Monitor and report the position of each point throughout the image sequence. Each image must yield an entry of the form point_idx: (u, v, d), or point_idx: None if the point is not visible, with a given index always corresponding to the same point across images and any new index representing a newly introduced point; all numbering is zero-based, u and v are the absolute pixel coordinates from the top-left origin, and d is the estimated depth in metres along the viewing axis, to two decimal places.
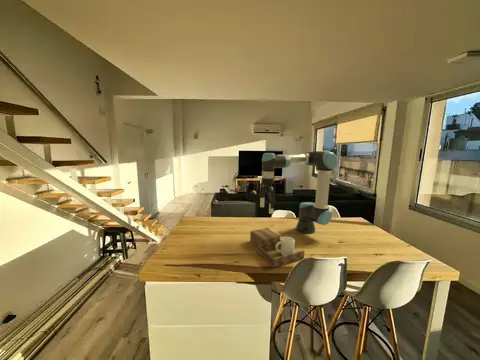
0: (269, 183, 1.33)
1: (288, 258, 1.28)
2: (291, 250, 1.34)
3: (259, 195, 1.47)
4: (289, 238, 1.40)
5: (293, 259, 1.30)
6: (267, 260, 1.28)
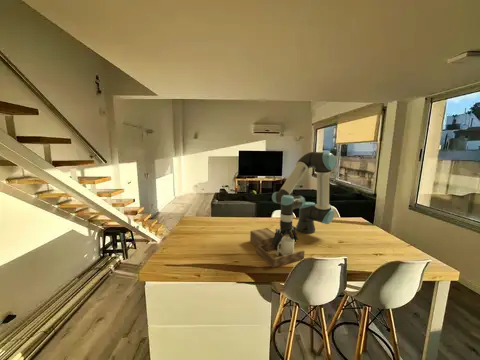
0: (280, 225, 1.34)
1: (288, 258, 1.28)
2: (291, 250, 1.34)
3: None
4: (289, 238, 1.40)
5: (293, 259, 1.30)
6: (267, 260, 1.28)
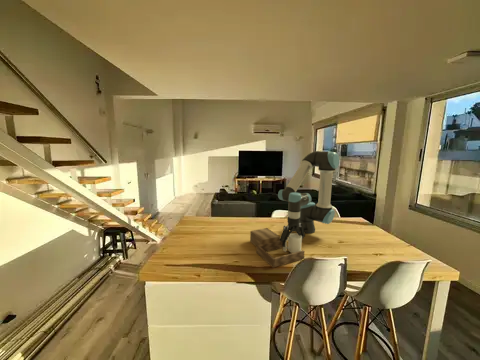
0: (288, 222, 1.36)
1: (288, 258, 1.28)
2: (298, 246, 1.37)
3: (301, 235, 1.44)
4: (296, 235, 1.43)
5: (293, 259, 1.30)
6: (267, 260, 1.28)
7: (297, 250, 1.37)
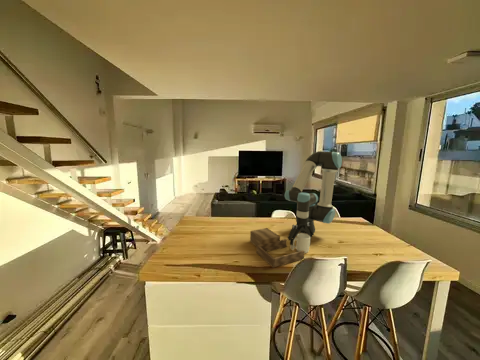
0: (297, 221, 1.39)
1: (288, 258, 1.28)
2: (307, 246, 1.40)
3: None
4: (304, 235, 1.46)
5: (293, 259, 1.30)
6: (267, 260, 1.28)
7: (305, 250, 1.40)
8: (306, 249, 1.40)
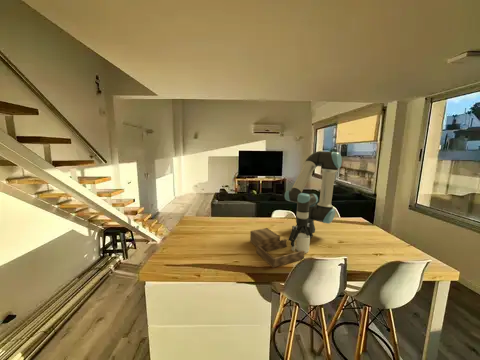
0: (296, 222, 1.39)
1: (288, 258, 1.28)
2: (306, 246, 1.40)
3: (309, 235, 1.47)
4: (304, 235, 1.46)
5: (293, 259, 1.30)
6: (267, 260, 1.28)
7: (305, 250, 1.40)
8: (306, 249, 1.40)
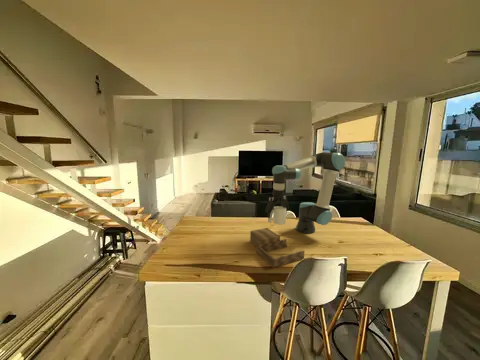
0: (273, 194, 1.41)
1: (288, 258, 1.28)
2: (283, 217, 1.42)
3: None
4: (281, 207, 1.48)
5: (293, 259, 1.30)
6: (267, 260, 1.28)
7: (281, 221, 1.42)
8: (282, 220, 1.42)
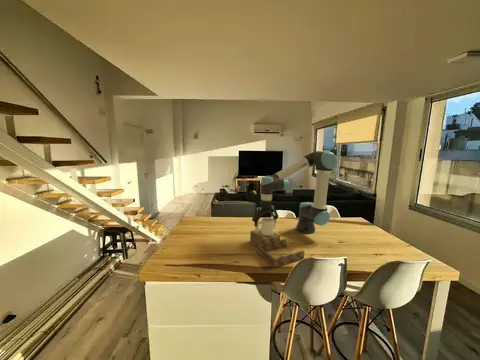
0: (261, 204, 1.45)
1: (288, 258, 1.28)
2: (270, 229, 1.46)
3: None
4: (269, 219, 1.52)
5: (293, 259, 1.30)
6: (267, 260, 1.28)
7: (269, 232, 1.46)
8: (269, 232, 1.46)
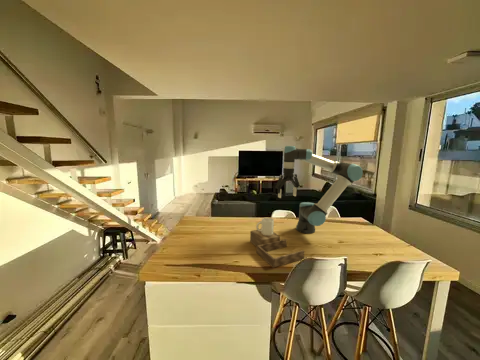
0: (284, 172, 1.53)
1: (288, 258, 1.28)
2: (270, 229, 1.46)
3: None
4: (269, 219, 1.52)
5: (293, 259, 1.30)
6: (267, 260, 1.28)
7: (269, 232, 1.46)
8: (269, 232, 1.46)
